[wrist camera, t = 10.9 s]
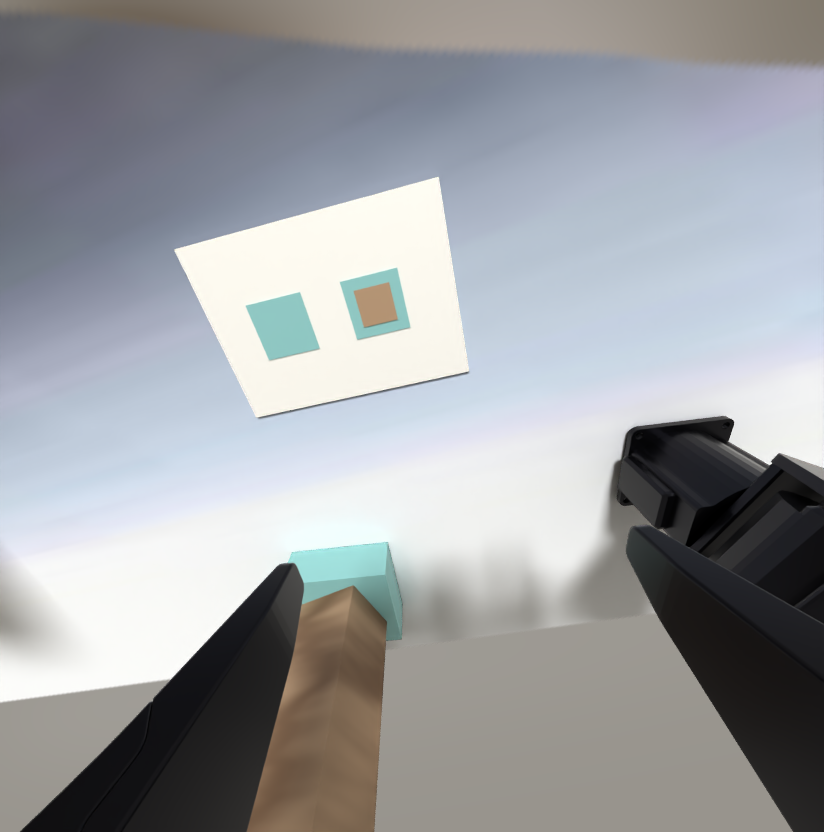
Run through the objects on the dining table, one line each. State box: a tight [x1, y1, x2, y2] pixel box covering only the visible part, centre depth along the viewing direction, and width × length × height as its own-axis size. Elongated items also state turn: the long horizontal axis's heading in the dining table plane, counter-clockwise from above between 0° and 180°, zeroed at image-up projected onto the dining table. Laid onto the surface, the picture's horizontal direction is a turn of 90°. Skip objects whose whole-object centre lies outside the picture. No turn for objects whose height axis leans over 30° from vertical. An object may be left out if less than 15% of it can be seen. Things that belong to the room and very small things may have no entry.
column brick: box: [247, 585, 387, 832], centre depth 20 cm, size 5×5×12 cm
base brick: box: [288, 542, 402, 641], centre depth 27 cm, size 8×8×3 cm
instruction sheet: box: [174, 177, 469, 418], centre depth 18 cm, size 14×10×1 cm
